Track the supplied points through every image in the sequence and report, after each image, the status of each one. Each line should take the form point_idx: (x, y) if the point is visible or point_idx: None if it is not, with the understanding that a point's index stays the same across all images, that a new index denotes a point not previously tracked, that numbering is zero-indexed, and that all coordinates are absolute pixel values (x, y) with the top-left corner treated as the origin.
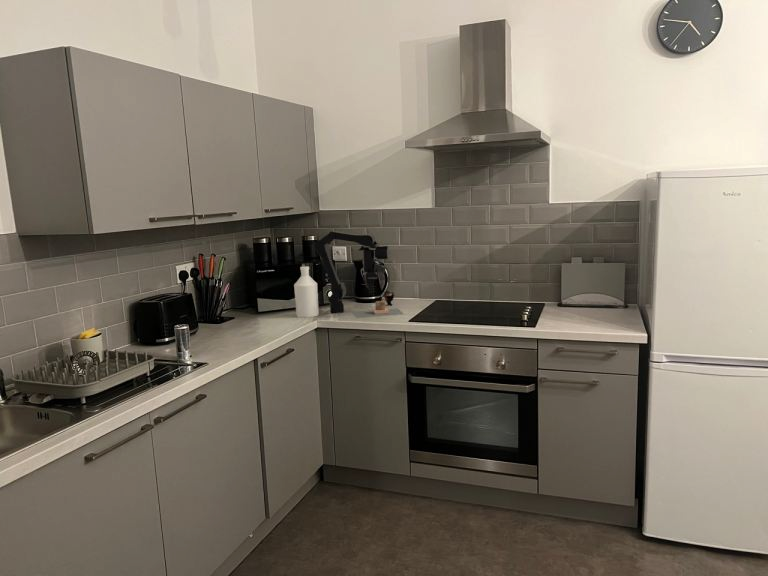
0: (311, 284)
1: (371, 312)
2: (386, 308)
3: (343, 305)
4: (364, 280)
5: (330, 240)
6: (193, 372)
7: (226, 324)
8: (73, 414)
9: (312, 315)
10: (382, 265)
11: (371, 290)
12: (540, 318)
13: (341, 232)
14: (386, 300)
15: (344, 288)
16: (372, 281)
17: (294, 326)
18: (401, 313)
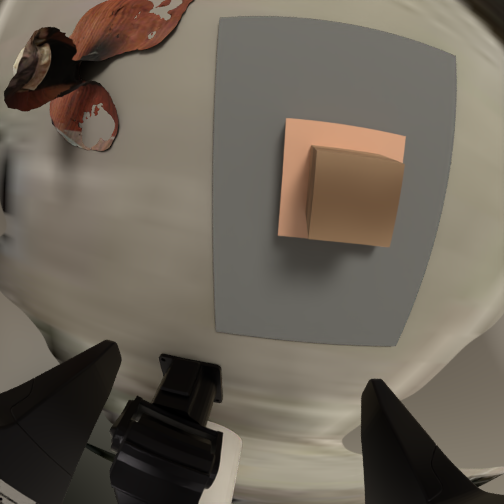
0: None
1: (295, 238)
2: (322, 122)
3: (189, 386)
4: (80, 453)
5: None
6: (480, 474)
7: (249, 499)
8: (489, 481)
9: (238, 440)
10: None
11: (381, 385)
12: None
13: None
14: (57, 91)
15: (151, 464)
16: (453, 498)
17: (354, 465)
18: (431, 57)
